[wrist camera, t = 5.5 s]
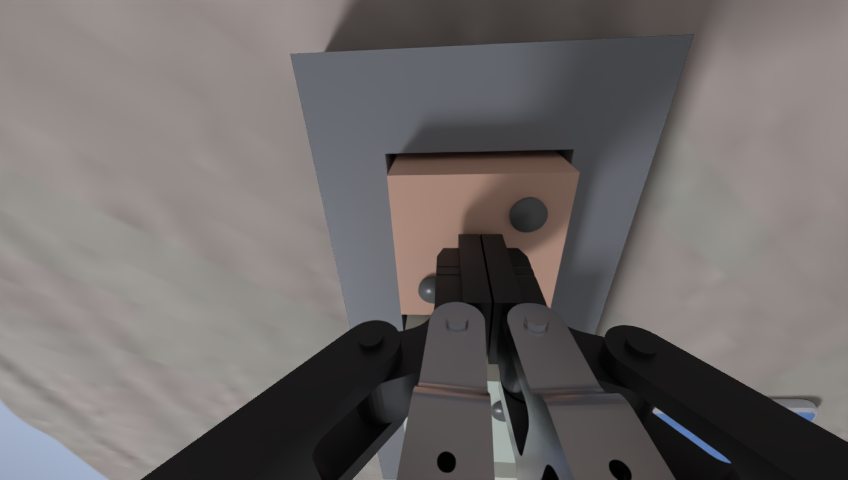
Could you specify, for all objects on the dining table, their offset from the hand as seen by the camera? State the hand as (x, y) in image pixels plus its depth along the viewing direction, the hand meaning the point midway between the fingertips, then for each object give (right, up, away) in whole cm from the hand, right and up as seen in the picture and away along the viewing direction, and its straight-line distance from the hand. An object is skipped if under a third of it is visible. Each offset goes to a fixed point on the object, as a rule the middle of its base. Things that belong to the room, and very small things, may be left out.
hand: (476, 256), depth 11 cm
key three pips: (0, +2, +3) cm, 4 cm away
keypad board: (+1, -4, +8) cm, 9 cm away
